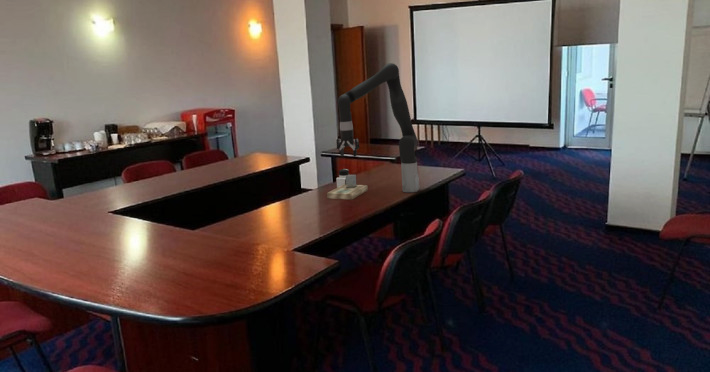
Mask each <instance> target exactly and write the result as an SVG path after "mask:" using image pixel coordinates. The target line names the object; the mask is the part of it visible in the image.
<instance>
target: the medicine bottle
mask: <svg viewBox="0 0 710 372" xmlns="http://www.w3.org/2000/svg"><path fill="white" fill-rule="evenodd" d="M347 175H350V172H349V169H347V168H343V169H340V170H339V171H338V176H339V177H336V188H338V187H339V186H341V185H343V184H345V185H346V177H345V176H347Z"/></svg>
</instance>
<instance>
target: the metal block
mask: <svg viewBox="0 0 710 372" xmlns="http://www.w3.org/2000/svg"><path fill="white" fill-rule="evenodd" d="M345 177H346V188H355V187H357V186H356V185H357V175H356V174H349V175H347V176H345Z"/></svg>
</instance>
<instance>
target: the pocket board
mask: <svg viewBox="0 0 710 372" xmlns="http://www.w3.org/2000/svg"><path fill="white" fill-rule="evenodd" d="M356 186H357V187H355V188H346V185H345V184H343V185H341V186H339V187H338V188H337V187H336V188H334V189H332V190H330V191H328V192H326V197H327V199H332V200H333V199H337V200H354V199H355V198H357V197H359V196H360V195H362V194H364V193H365V192H368V191H369V190H368V185H366V184H356Z"/></svg>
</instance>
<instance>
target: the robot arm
mask: <svg viewBox="0 0 710 372" xmlns="http://www.w3.org/2000/svg"><path fill="white" fill-rule="evenodd" d="M400 78H401V77H400V69H399V67H398V65H397V64H395V63H393V62H390V63H389V62H388V63H387V64H385V65H384V66H383V67H382V68H381V69H379V71H378V72H376V73H375V74H374V75H373V76H371V77H369V78H368V79H365V80H364V81H362V82H361V83H359V84H357V85H356V86H354V87H352V89H350V90H348V91H346V92H345V93H343V94H341V95H340V96H339V97H338V98H337V105H338V111H339V133H340V138H337V139H336V150H339V154H340V157H344V156H345V152H344V148H345V147H350V148H351V149H352V154H353V157H357V155H358V150H359V149H360V148H361V147H360V141H359V138H356V139H355V138H354V126H353V119H352V112H351V104H352V103H354V102H355V101H356V100H359V99H361V98H362V97H365V96H366V95H367V94H369V93H370V92H372V91H373V90H374V89H376V88H377V87H379V86H380V85H382V84H384V83H385V82H386V85H387V87H388V91H389V93H388V94H389V99H390V106H391V110H392V113H393V116H394V118H395V120H396V122H397V124H398V126H399V127H400V131H401V136H402V137H401V138H400V139H399V142H398V151H399V158H400V161H401V163H400V166H401V167H400V168H401V184H402V185H401V186H402V192H403V193H418V192H419V191H420V178H419V177H420V174H419V173H418V158H417V156H416V151H415V150H416V148H417V146H418V142H419V141H418V137H417V135H416V132H415V129H414V127H413V123H412V119H411V118H412V117H411V113H410V110H409V105H408V101H407V98H406V95H405V92H404V90H403V88H402V85H401V84H402V83H401V79H400Z"/></svg>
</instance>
